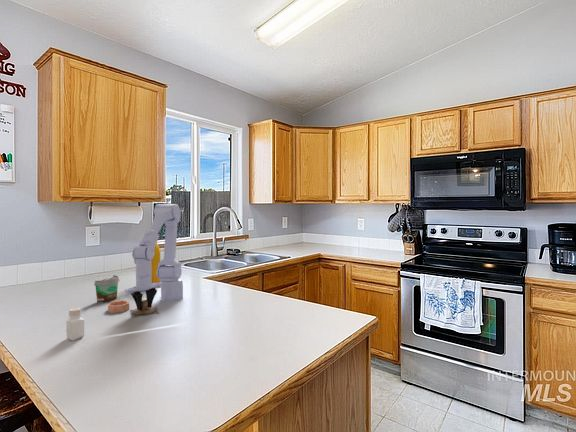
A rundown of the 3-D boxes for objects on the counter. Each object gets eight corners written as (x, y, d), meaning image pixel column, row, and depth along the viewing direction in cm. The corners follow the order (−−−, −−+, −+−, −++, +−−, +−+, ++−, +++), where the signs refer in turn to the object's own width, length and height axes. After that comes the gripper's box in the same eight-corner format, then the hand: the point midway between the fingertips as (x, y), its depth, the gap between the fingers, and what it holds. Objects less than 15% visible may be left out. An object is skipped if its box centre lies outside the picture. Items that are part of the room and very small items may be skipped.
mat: (156, 307, 138) (156, 306, 138) (159, 314, 129) (159, 313, 129) (130, 311, 133) (130, 310, 133) (131, 319, 124) (131, 317, 124)
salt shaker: (72, 341, 104) (71, 312, 104) (65, 338, 106) (65, 309, 106) (85, 337, 107) (84, 308, 107) (79, 334, 109) (78, 306, 109)
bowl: (128, 307, 139) (128, 299, 139) (129, 312, 132) (129, 304, 132) (108, 309, 135) (108, 302, 135) (108, 315, 129) (108, 307, 129)
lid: (154, 307, 137) (154, 296, 137) (157, 312, 129) (156, 302, 129) (131, 310, 133) (131, 299, 133) (133, 316, 125) (133, 305, 125)
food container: (106, 304, 143) (106, 281, 143) (94, 303, 145) (94, 280, 144) (125, 296, 156) (125, 275, 155) (114, 295, 157) (114, 275, 156)
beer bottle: (157, 281, 186) (156, 230, 185) (163, 284, 180) (162, 231, 179) (140, 283, 180) (139, 231, 179) (146, 287, 173) (145, 232, 172)
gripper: (155, 271, 139) (155, 302, 139) (120, 276, 127) (121, 311, 128) (164, 273, 134) (164, 305, 135) (129, 279, 123) (129, 315, 124)
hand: (144, 308), depth 131 cm, fingers open, 3 cm apart
